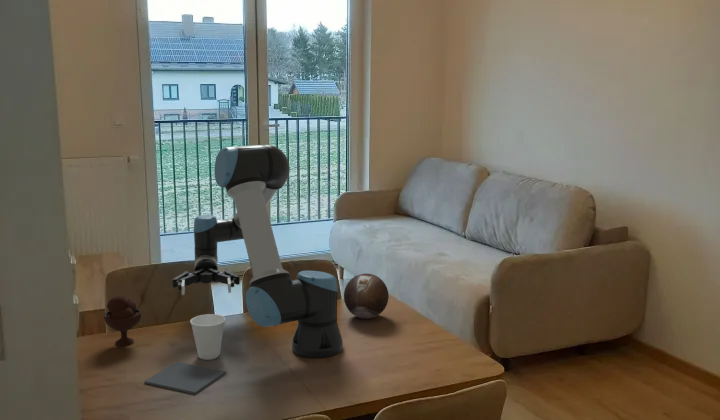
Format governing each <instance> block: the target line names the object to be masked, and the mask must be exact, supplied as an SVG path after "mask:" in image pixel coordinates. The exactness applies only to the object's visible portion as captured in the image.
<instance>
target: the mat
mask: <svg viewBox="0 0 720 420" xmlns="http://www.w3.org/2000/svg"><path fill="white" fill-rule="evenodd" d="M225 374H227V371H226V370H222V369H217V368H212V367H208V366H203V365H196V364H191V363H187V362H183V361H176V362H174V363H173V364H170V366H167V367H165V368H164V369H163V370H161V371H158V372H157V373H156V374H155V375H152V376H151V377H148V378H147V379H146V380H144V384H146V385H150V386H155V387H160V388H164V389H168V390H169V389H170V390H174V391H179V392H182V393H187V394H191V395H197V394H198V393H200V392H201V391H202V390H204V389H205V388H207V387H208V386H210V385H211V384H212V383H214V382H215V381H217V380H219V379H220V378H221V377H223V376H224V375H225Z"/></svg>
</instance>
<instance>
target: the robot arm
mask: <svg viewBox="0 0 720 420" xmlns="http://www.w3.org/2000/svg"><path fill="white" fill-rule="evenodd" d="M290 170H291V169H290V162H289V160H288V157H287V155H286V154H285V153H284V152H283V150H281V149H280V148H279V147H278V146H275V145H271V144H257V145H256V144H253V145H233V146H226V147H223V148H221V149H220V150H219V151H218V153H217V155H216V158H215V161H214V179H215V182H216V184H217V186H218V187H219V188H223V189H224V188H225V191H226V195H227V196H228V197H230V198H232V199H233V201H234V205H235V210H236V212H235V215H234V216H233V217H232V218H227V219H226V218H225V219H217V216H215V215H213V214H202V215H197V216H196V217H195V218H194V221H193V239H194V269H193V270H194V271H193V272H189V271H188V270H185V271H183V273H181V274H179V275H178V276H175V277H174V278H172V288H177V290H178V291H181V296H185V294H186V293H185V291H186V287H187V286H190V285H193V284H199V283H202V284H211V283H221V284H225V285H227V290H228V291H227V292H228V293H229V294H230V293H232V288H234V287H235V285H236V286H237V285H240V280H241V279H240V276H239V275H238V274H235V273H233V272H231V271H230V270H229V269H228V268H226V269H225V268H224V269H223V271H219V265H218V259H219V257H218V243H223V242H230V241H237V240H238V241H239V240H244V245H245V249H246V254H247V257H248V261H249V266H250V269H251V272H252V278H251V280H250V281H249V288H248V289H247V290H246V292H245V298H246V299H245V304H246V308H247V311H248V314H249V315H250V318H251V319H252V320H253V322H254V323H256V325H258V326H260V327H263V328H267V327H277V326H280V325H284V324H287V323H292V322H296V321H297V325H296V328H295V331H294V333H293V337H292V340H291V350H292V352H293V353H295V355H298V356H301V357H306V358H314V359H319V358H328V357H333V356H335V355H337V354H340V353H341V352H342V351H343V350H344V349H343V348H344V346H343V345H344V341H343V337H342V335H341V330H340V328H339V325H338V292H339V290H338V279H337V278H336V277H335V276H334V274H331V273H329V272H326V271H320V270H319V271H318V270H302V271H299V272H298V273H297V275H296V279H291V275H290V272H289V271H287V270H286V269H284V268H283V265H282V261H281V258H280V255H279V250H278V247H277V242H276V239H275V235H274V231H273V227H272V224H271V220H270V216H269V211H268V208H267V206H268V205H269V204H270V202H271V200H272V199H273V197H274V196H275V194H276V193H277V191H278V190H280V189H282V188H283V187H284V185H285V184H286V182H288V181H287V180H288V179H289V176H290V172H291V171H290Z"/></svg>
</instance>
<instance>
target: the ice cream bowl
mask: <svg viewBox="0 0 720 420" xmlns="http://www.w3.org/2000/svg"><path fill="white" fill-rule="evenodd" d="M106 307H107V311H105V312H103V319H104V323H105V324H106V325H107V326H108V327H109V328H111V329H113V330H115V331H118V332H120V338H118V339H117V340H116V341H115V343H114V345H115V346H117V347H127V346H131V345H133V344H134V343H135V341H134V339H133V338H131V337H128V331H129V330H131V329H133V328H134V327H135V326H137V325H138V323H140V321H141V318H142V309H140V308H137V303H135V302H134V301H133V300H131V299H129V298H127V297H125V296H124V295H116V296H113V297H111V298H110V299H109V300H108V301H107V305H106Z"/></svg>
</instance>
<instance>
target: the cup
mask: <svg viewBox="0 0 720 420" xmlns="http://www.w3.org/2000/svg"><path fill="white" fill-rule="evenodd" d="M226 320H227V319H226V317H225V316H224V315H221V314H213V313H210V314H209V313H207V314H200V315H196V316H195V317H192V318H190V321H189V322H190V324H191V329H192V334H193V338H194V343H195V347H196V352H197V353H196V354H197V356H198V358H200V360H206V361H210V360H214V359H217V358H218V357H219V356H220V355H221V350H222V348H221V347H222V340H223V335H224V329H225V322H226Z"/></svg>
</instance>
